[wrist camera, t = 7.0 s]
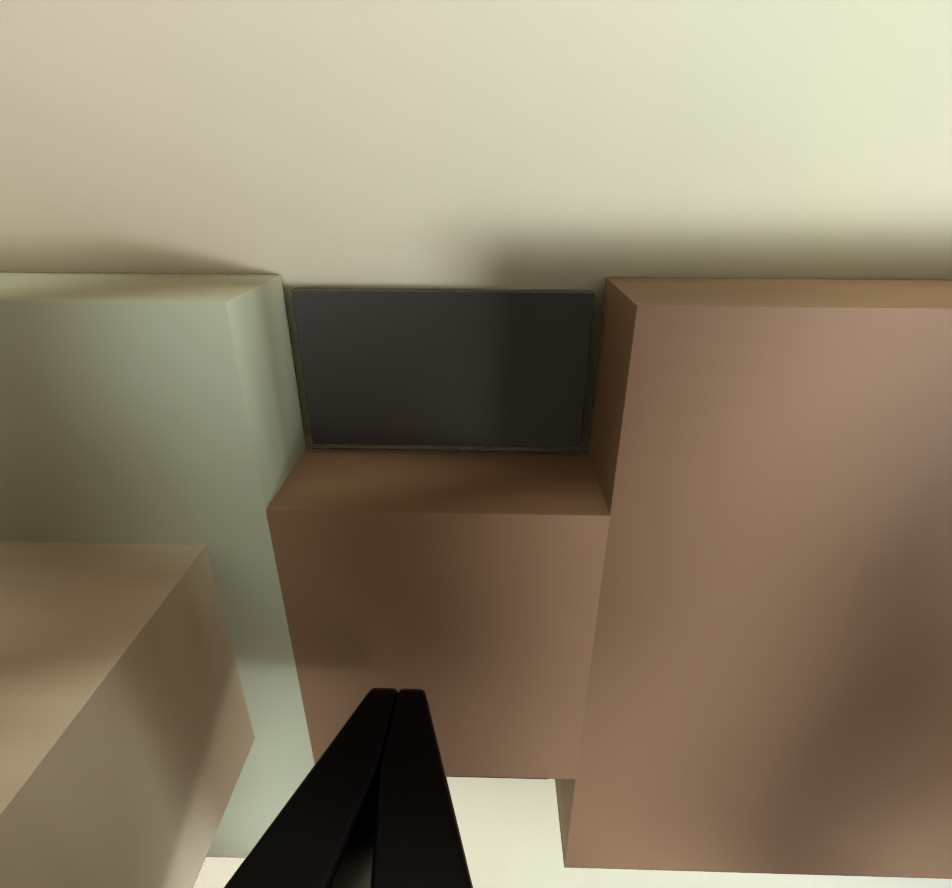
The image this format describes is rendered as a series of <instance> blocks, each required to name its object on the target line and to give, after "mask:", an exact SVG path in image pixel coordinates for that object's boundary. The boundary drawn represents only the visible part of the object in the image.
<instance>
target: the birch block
mask: <svg viewBox="0 0 952 888" xmlns="http://www.w3.org/2000/svg"><path fill="white" fill-rule="evenodd" d="M254 740H255V736H254V732H253V728H252V724H251V720H250V716H249V713H248V709H247V705H246V701H245V697H244V693H243V689H242V685H241V681H240V677H239V673H238V669H237V665H236V661H235V657H234V654H233V650H232V646H231V642H230V638H229V634H228V630H227V626H226V622H225V618H224V614H223V610H222V606H221V602H220V599H219V595H218V591H217V587H216V583H215V579H214V575H213V571H212V567H211V563H210V559H209V555H208V551H207V547H206V545H170V544H120V543H69V542H19V541H0V888H193V886H194V884H195V882H196V879H197V877H198V874H199V872H200V870H201V867H202V865H203V862H204V860H205V858H206V855H207V853H208V850H209V848H210V846H211V843H212V841H213V838H214V836H215V834H216V831H217V829H218V826H219V824H220V822H221V819H222V817H223V814H224V812H225V810H226V807H227V805H228V802H229V800H230V797H231V795H232V793H233V790H234V788H235V785H236V783H237V781H238V778H239V776H240V773H241V771H242V769H243V766H244V764H245V761H246V759H247V757H248V754H249V752H250V749H251V747H252V745H253V742H254Z"/></svg>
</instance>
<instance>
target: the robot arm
mask: <svg viewBox="0 0 952 888" xmlns="http://www.w3.org/2000/svg"><path fill="white" fill-rule="evenodd" d="M224 888H473V886H472V882H471V878H470V874H469V870H468V866H467V862H466V857H465V853H464V849H463V845H462V841H461V837H460V833H459V828H458V824H457V820H456V816H455V812H454V808H453V804H452V800H451V795H450V791H449V787H448V783H447V779H446V775H445V771H444V766H443V762H442V758H441V754H440V750H439V746H438V742H437V738H436V733H435V729H434V725H433V721H432V717H431V713H430V709H429V704H428V700H427V696H426V693H425V691H424V690H423V689H401V690H399V692H398V691H397V690H396V689H394V688H373V689H371V690H370V691H369V692H368V693H367V695H366V696H365V697H364V699H363V700H362V701H361V703H360V704H359V705H358V707H357V708H356V709H355V711H354V712H353V714H352V715H351V716H350V718H349V719H348V720H347V722H346V723H345V724H344V726H343V727H342V728H341V730H340V731H339V733H338V734H337V735H336V737H335V738H334V739H333V741H332V742H331V743H330V745H329V746H328V747H327V749H326V750H325V752H324V753H323V754H322V756H321V757H320V758H319V760H318V761H317V762H316V764H315V765H314V766H313V768H312V769H311V771H310V772H309V773H308V775H307V776H306V777H305V779H304V780H303V781H302V783H301V784H300V785H299V787H298V788H297V789H296V791H295V792H294V794H293V795H292V796H291V798H290V799H289V800H288V802H287V803H286V804H285V806H284V807H283V808H282V810H281V811H280V813H279V814H278V815H277V817H276V818H275V819H274V821H273V822H272V823H271V825H270V826H269V827H268V829H267V830H266V832H265V833H264V834H263V836H262V837H261V838H260V840H259V841H258V842H257V844H256V845H255V846H254V848H253V849H252V851H251V852H250V853H249V855H248V856H247V857H246V859H245V860H244V861H243V863H242V864H241V865H240V867H239V868H238V869H237V871H236V872H235V874H234V875H233V876H232V878H231V879H230V880H229V882H228V883H227V884H226V886H225V887H224Z"/></svg>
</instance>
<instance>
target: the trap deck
mask: <svg viewBox="0 0 952 888" xmlns="http://www.w3.org/2000/svg"><path fill="white" fill-rule="evenodd" d="M292 298H293V305H294V312H295V319H296V326H297V333H298V340H299V348H300V355H301V362H302V369H303V376H304V383H305V390H306V398H307V405H308V412H309V419H310V426H311V433H312V440H313V444H372V445H444V446H516V447H580V437H581V426H582V416H583V405H584V395H585V385H586V374H587V364H588V353H589V343H590V332H591V322H592V311H593V301H594V292H593V291H577V290H454V289H332V288H295V289H294V290H292ZM0 541H19V542H69V543H120V544H170V545H206V547H207V551H208V555H209V559H210V563H211V567H212V571H213V575H214V579H215V583H216V587H217V591H218V595H219V599H220V602H221V606H222V610H223V614H224V618H225V622H226V626H227V630H228V634H229V638H230V642H231V646H232V650H233V654H234V657H235V661H236V665H237V669H238V673H239V677H240V681H241V685H242V689H243V693H244V697H245V701H246V705H247V709H248V713H249V716H250V720H251V724H252V728H253V732H254V736H255V740H254V742H253V745H252V747H251V749H250V752H249V754H248V757H247V759H246V761H245V764H244V766H243V769H242V771H241V773H240V776H239V778H238V781H237V783H236V785H235V788H234V790H233V793H232V795H231V797H230V800H229V802H228V805H227V807H226V810H225V812H224V814H223V817H222V819H221V822H220V824H219V826H218V829H217V831H216V834H215V836H214V838H213V841H212V843H211V846H210V848H209V850H208V853H207V855H206V857H229V858H246V857H247V856H248V855H249V853H250V852H251V851H252V849H253V848H254V846H255V845H256V844H257V842H258V841H259V840H260V838H261V837H262V836H263V834H264V833H265V832H266V830H267V829H268V827H269V826H270V825H271V823H272V822H273V821H274V819H275V818H276V817H277V815H278V814H279V813H280V811H281V810H282V808H283V807H284V806H285V804H286V803H287V802H288V800H289V799H290V798H291V796H292V795H293V794H294V792H295V791H296V789H297V788H298V787H299V785H300V784H301V783H302V781H303V780H304V779H305V777H306V776H307V775H308V773H309V772H310V771H311V769H312V768H313V766H314V765H315V764H316V762H317V761H318V760H319V758H320V757H321V756H322V754H323V753H324V752H325V750H326V749H327V747H328V746H329V745H330V743H331V742H332V741H333V739H334V738H335V737H336V735H337V734H338V733H339V731H340V730H341V728H342V727H343V726H344V724H345V723H346V722H347V720H348V719H349V718H350V716H351V715H352V714H353V712H354V711H355V709H356V708H357V707H358V705H359V704H360V703H361V701H362V700H363V699H364V697H365V696H366V695H367V693H368V692H369V691H370V690H371V689H373V688H394V689H396V690H397V691H398V692H399V690H401V689H423V690H424V691H425V693H426V696H427V700H428V704H429V709H430V713H431V717H432V721H433V725H434V729H435V733H436V738H437V742H438V746H439V750H440V754H441V758H442V762H443V766H444V771H445V775H446V777H483V778H521V779H555V784H556V793H557V803H558V812H559V822H560V832H561V841H562V851H563V860H564V867H569V868H603V869H637V870H671V871H705V872H739V873H773V874H807V875H841V876H875V877H909V878H943V879H952V280H885V279H755V278H624V277H606V287H605V296H604V306H603V316H602V325H601V335H600V345H599V354H598V364H597V374H596V383H595V393H594V403H593V412H592V422H591V432H590V441H589V451H588V453H578V452H507V451H437V450H366V449H306V442H305V435H304V429H303V422H302V415H301V408H300V401H299V394H298V388H297V381H296V374H295V367H294V360H293V353H292V347H291V340H290V333H289V326H288V319H287V312H286V306H285V299H284V292H283V285H282V278H281V275H233V274H103V273H0Z"/></svg>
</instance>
